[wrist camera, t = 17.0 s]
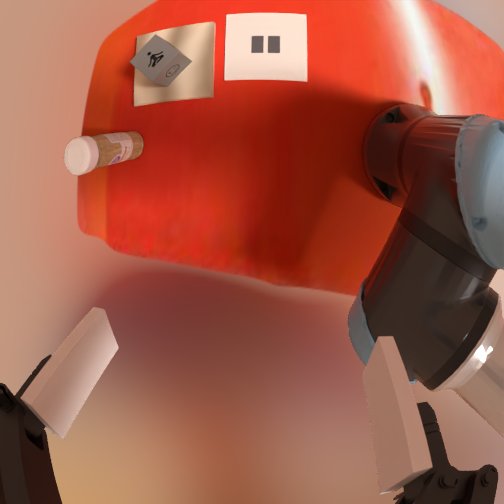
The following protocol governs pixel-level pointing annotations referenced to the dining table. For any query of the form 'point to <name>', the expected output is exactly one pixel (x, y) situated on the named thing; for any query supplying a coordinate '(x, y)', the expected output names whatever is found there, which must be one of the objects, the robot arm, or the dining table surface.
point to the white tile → (266, 47)
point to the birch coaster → (192, 77)
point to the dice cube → (160, 61)
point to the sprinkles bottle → (101, 151)
